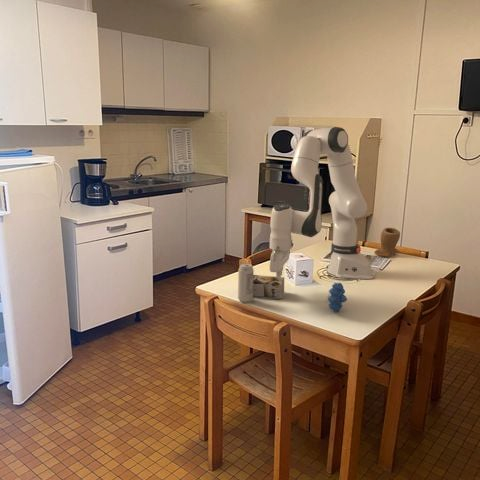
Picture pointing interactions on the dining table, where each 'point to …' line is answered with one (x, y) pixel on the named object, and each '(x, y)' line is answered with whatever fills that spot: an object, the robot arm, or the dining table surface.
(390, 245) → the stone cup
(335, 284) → the grapes
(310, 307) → the dining table surface
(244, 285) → the energy drink can
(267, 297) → the mat
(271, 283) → the coffee box
